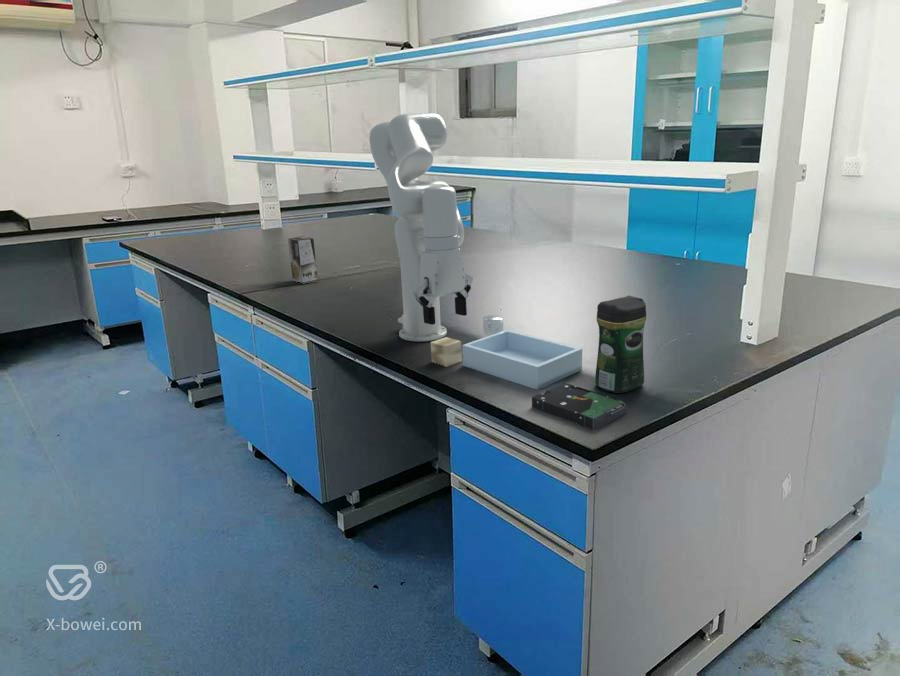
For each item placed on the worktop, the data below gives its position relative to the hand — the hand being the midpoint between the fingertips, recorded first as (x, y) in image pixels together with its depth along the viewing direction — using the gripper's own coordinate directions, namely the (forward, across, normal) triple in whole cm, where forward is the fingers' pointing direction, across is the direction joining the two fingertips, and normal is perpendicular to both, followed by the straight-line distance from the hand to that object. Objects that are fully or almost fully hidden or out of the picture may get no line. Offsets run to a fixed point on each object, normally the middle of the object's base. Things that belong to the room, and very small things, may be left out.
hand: (445, 319), depth 149 cm
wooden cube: (+11, 0, -1) cm, 11 cm away
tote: (+11, -8, +15) cm, 20 cm away
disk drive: (+12, +1, +38) cm, 40 cm away
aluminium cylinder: (+10, -16, -1) cm, 19 cm away
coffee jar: (+12, -14, +37) cm, 41 cm away
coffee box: (+7, -26, -105) cm, 108 cm away
